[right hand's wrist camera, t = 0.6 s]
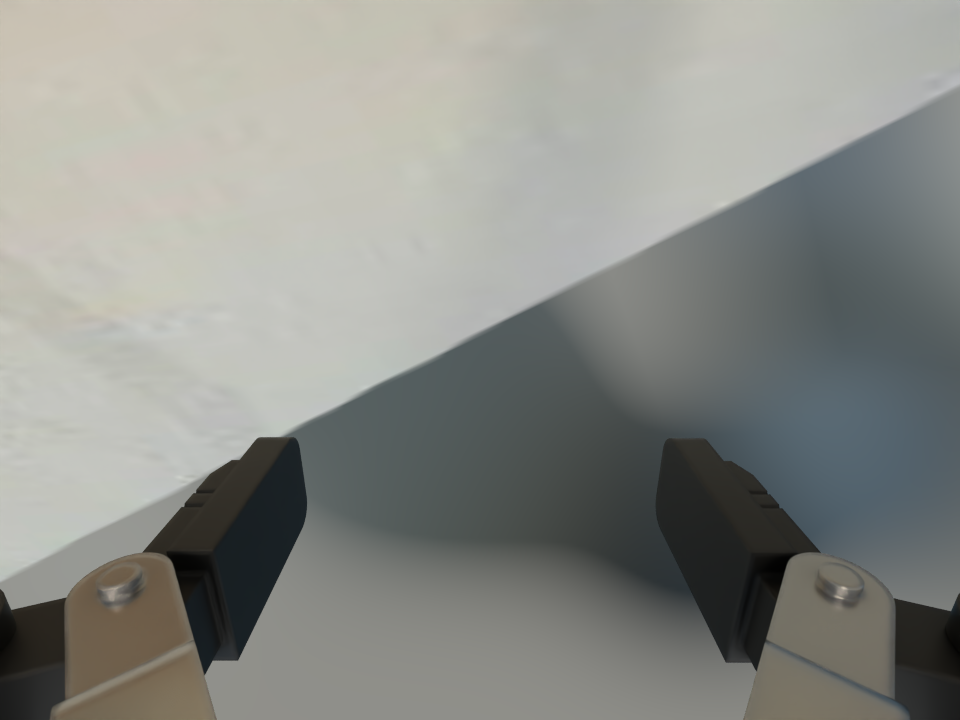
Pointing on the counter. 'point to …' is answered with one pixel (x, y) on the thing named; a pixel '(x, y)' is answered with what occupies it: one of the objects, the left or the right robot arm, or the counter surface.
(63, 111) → the counter surface
